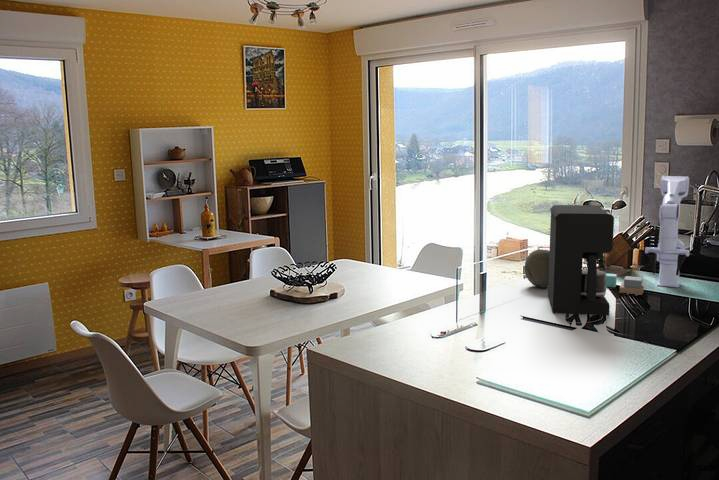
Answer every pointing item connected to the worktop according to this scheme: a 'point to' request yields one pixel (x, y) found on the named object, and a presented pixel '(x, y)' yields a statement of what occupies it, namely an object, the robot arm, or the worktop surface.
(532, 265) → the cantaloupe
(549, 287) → the coffee maker
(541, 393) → the worktop surface
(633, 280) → the grey square block
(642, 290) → the walnut slab
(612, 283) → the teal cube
